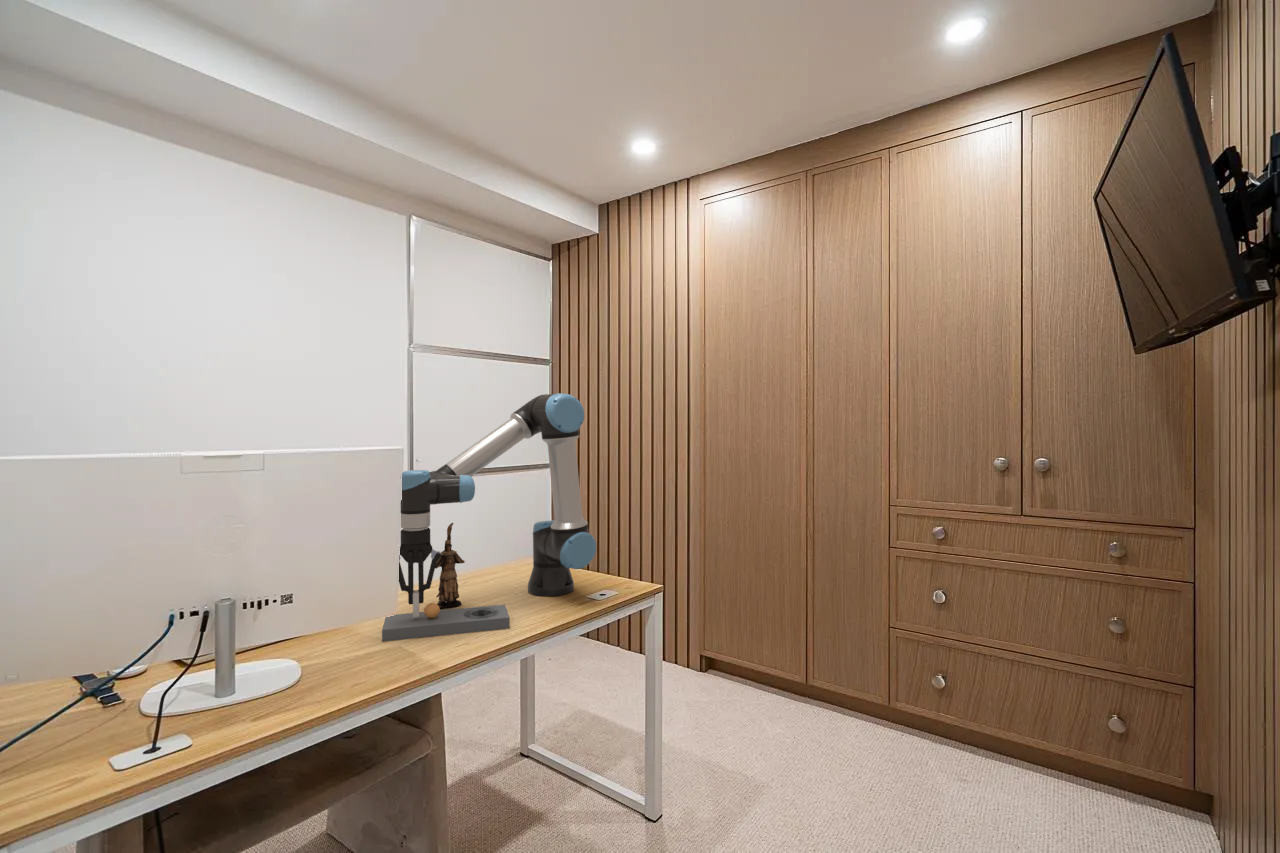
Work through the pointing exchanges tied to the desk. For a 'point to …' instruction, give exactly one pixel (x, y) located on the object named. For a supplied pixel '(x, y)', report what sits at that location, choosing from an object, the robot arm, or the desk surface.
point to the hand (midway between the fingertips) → (416, 615)
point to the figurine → (448, 575)
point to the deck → (446, 622)
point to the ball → (431, 610)
